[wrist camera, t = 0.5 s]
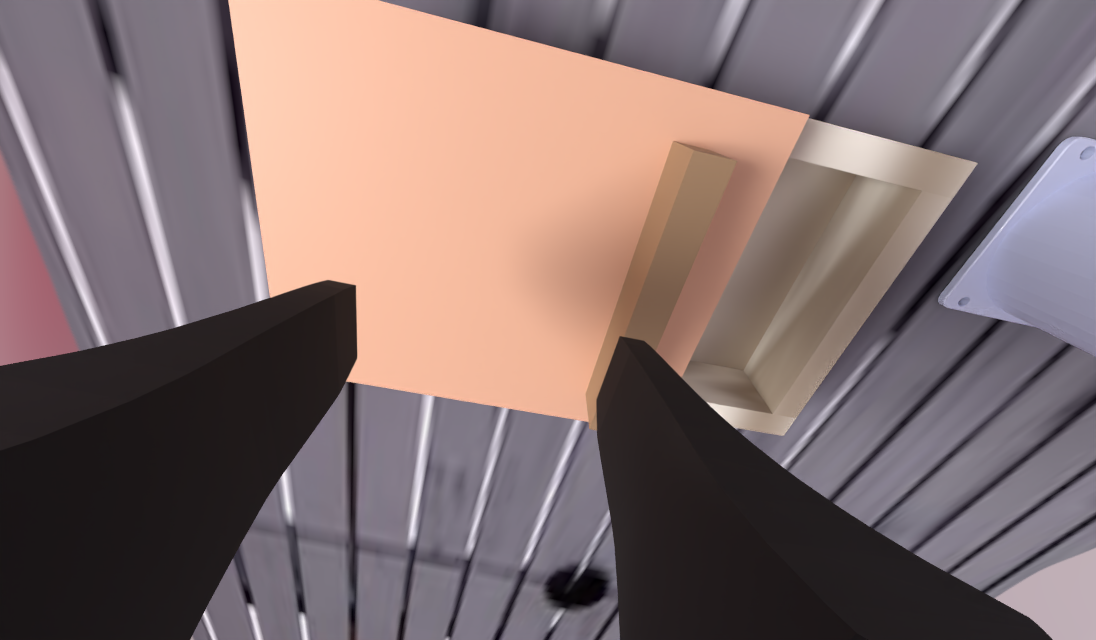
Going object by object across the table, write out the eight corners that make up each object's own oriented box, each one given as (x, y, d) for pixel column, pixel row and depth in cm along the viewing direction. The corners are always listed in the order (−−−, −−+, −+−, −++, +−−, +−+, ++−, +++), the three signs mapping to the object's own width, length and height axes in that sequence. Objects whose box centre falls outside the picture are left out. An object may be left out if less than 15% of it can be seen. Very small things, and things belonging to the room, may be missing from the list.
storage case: (890, 147, 17) (977, 163, 14) (748, 383, 23) (783, 435, 20) (516, 49, 15) (506, 38, 12) (473, 332, 22) (459, 379, 18)
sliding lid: (791, 112, 13) (854, 120, 10) (649, 416, 19) (665, 469, 16) (249, -31, 11) (154, -68, 8) (294, 355, 17) (248, 403, 15)
